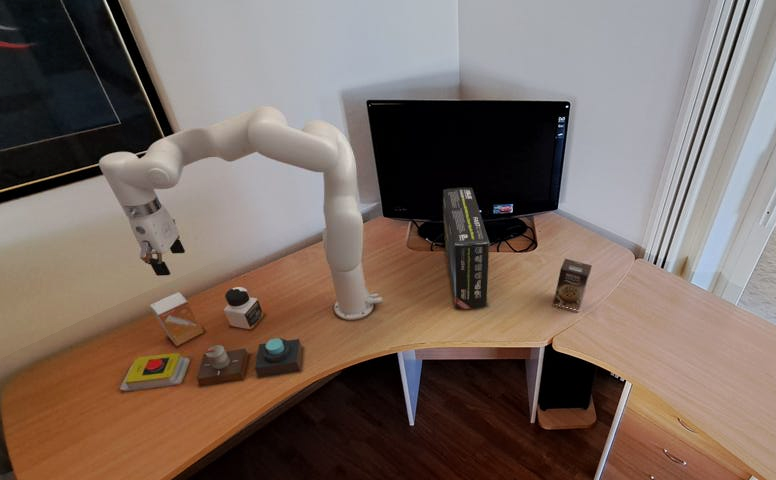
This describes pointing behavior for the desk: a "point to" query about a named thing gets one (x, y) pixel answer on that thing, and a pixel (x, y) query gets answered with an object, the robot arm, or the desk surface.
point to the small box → (177, 318)
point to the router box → (465, 248)
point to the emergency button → (155, 372)
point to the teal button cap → (275, 346)
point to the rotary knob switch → (223, 369)
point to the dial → (218, 356)
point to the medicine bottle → (242, 308)
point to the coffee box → (572, 285)
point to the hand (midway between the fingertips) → (171, 263)
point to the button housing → (279, 359)
